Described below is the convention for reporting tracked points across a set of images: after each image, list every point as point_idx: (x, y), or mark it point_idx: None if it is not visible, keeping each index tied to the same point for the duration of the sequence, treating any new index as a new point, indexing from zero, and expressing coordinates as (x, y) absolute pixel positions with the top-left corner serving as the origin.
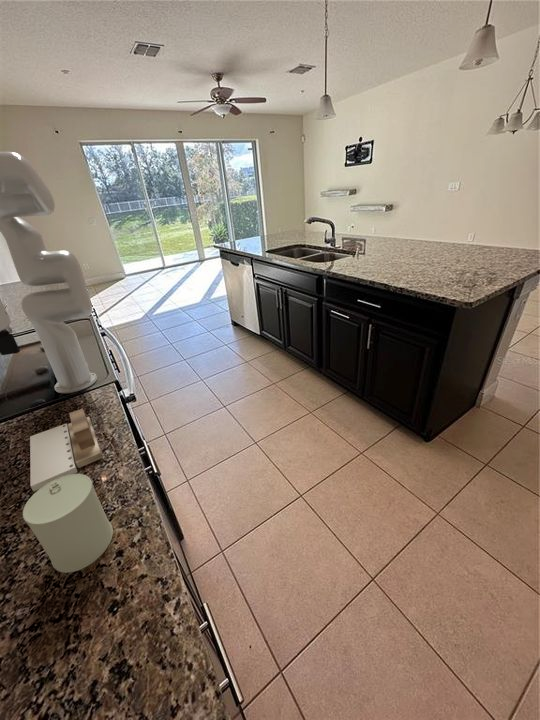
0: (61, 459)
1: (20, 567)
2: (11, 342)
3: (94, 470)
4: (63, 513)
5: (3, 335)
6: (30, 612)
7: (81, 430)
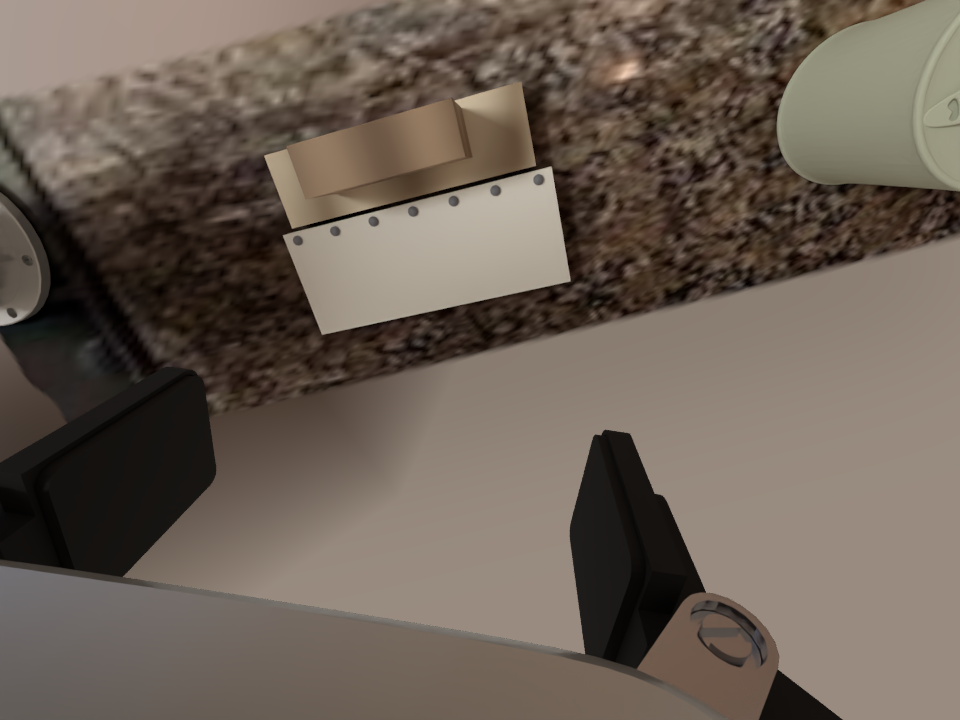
0: (489, 217)
1: (810, 250)
2: (126, 439)
3: (568, 110)
4: None
5: (43, 539)
6: (949, 202)
7: (458, 126)
